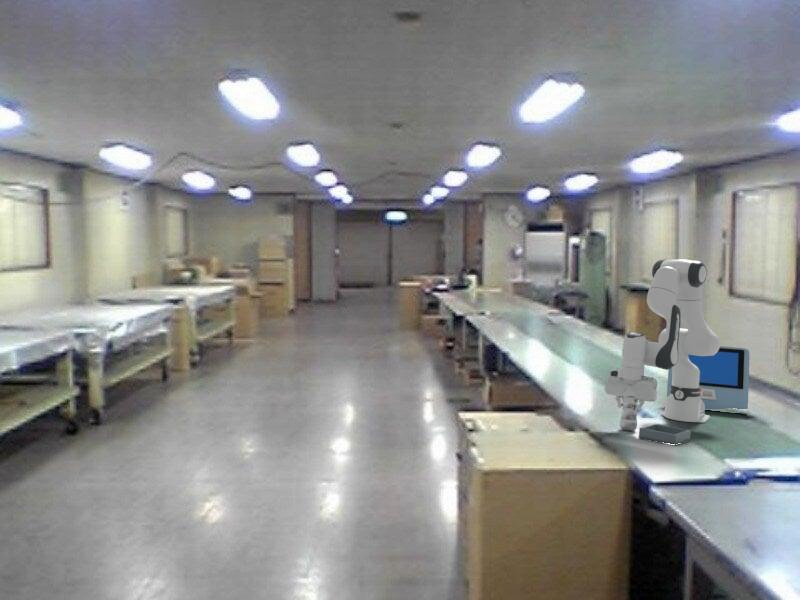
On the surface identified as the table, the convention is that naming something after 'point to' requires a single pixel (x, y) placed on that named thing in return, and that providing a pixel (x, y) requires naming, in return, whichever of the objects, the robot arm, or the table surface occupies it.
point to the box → (664, 434)
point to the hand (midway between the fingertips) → (629, 409)
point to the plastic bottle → (629, 410)
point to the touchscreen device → (722, 378)
